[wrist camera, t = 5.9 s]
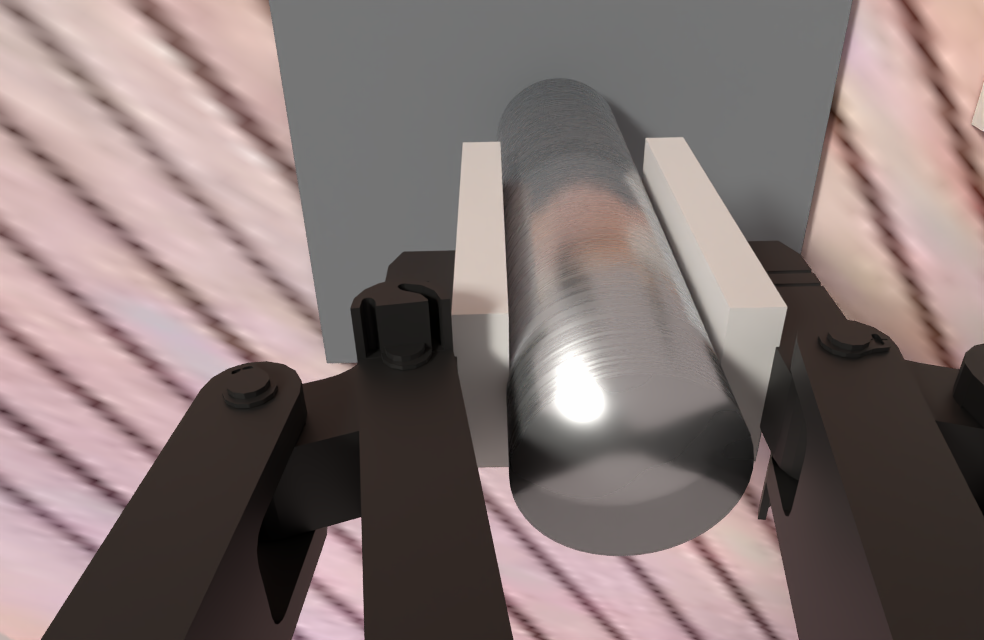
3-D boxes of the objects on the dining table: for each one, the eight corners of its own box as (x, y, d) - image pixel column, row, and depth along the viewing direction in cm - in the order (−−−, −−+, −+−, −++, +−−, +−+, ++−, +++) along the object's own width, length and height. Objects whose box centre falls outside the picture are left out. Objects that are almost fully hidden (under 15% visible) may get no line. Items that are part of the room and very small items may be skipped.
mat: (329, 356, 25) (326, 363, 25) (246, -167, 18) (242, -167, 17) (776, 346, 25) (780, 354, 25) (882, -184, 18) (889, -184, 17)
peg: (497, 195, 21) (509, 558, 11) (495, 79, 19) (507, 377, 9) (612, 192, 21) (735, 553, 11) (620, 76, 19) (773, 371, 9)
